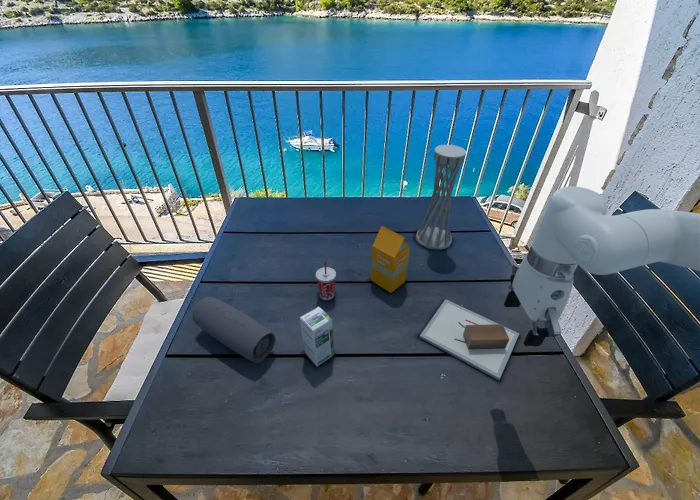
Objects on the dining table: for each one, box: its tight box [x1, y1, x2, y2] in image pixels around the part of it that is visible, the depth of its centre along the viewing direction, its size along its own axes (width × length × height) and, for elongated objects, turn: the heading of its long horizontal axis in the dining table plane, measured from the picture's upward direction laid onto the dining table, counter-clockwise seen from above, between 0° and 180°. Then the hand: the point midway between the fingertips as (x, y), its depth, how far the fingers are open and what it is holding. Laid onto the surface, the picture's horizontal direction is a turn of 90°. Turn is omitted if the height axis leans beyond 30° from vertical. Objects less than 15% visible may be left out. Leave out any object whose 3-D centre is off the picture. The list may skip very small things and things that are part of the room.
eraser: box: [463, 323, 509, 349], centre depth 93 cm, size 5×10×4 cm, turn 92°
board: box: [419, 299, 520, 381], centre depth 96 cm, size 22×17×1 cm
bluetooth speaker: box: [191, 296, 276, 364], centre depth 93 cm, size 23×9×10 cm, turn 57°
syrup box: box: [299, 306, 335, 367], centre depth 88 cm, size 6×6×14 cm
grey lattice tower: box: [415, 144, 467, 250], centre depth 122 cm, size 14×13×35 cm
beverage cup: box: [315, 260, 337, 301], centre depth 105 cm, size 6×6×14 cm
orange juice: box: [370, 225, 411, 294], centre depth 108 cm, size 8×9×20 cm
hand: (521, 324), depth 69 cm, fingers open, 9 cm apart
